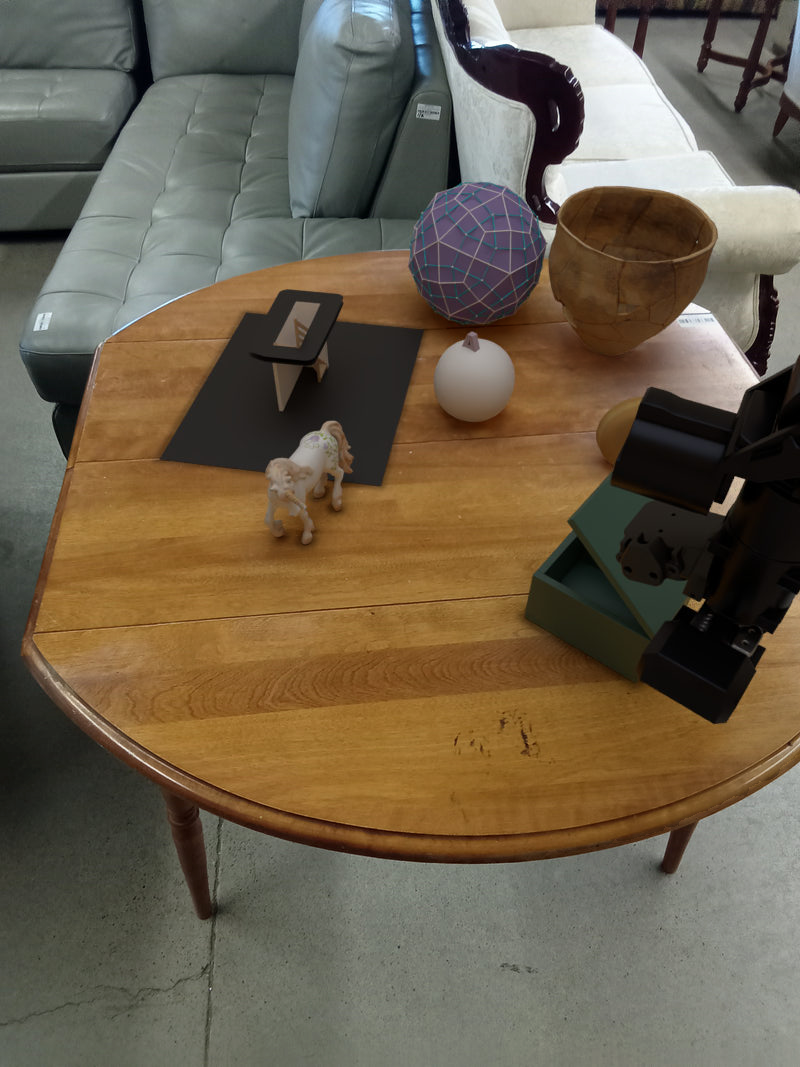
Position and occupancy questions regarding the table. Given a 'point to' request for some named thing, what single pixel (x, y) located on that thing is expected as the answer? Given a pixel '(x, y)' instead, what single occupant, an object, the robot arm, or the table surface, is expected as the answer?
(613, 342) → the bowl
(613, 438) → the doughnut
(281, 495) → the unicorn figurine
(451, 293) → the decorative sphere
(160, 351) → the table surface
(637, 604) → the lid
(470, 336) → the ornament
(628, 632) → the chest
